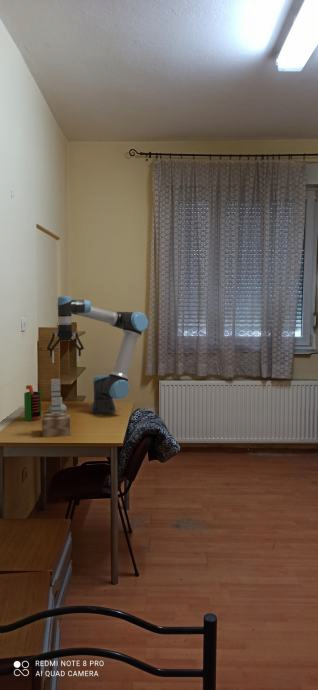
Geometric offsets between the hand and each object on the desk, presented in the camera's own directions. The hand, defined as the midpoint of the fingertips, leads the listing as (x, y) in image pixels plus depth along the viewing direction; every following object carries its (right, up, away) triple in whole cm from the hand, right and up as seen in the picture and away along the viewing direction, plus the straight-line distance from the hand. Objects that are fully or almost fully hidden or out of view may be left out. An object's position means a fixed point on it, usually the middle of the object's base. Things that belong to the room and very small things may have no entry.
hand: (65, 362), depth 287 cm
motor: (-22, -34, +14) cm, 43 cm away
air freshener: (-10, -33, +30) cm, 46 cm away
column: (-2, -28, -18) cm, 34 cm away
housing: (-2, -36, -18) cm, 40 cm away
